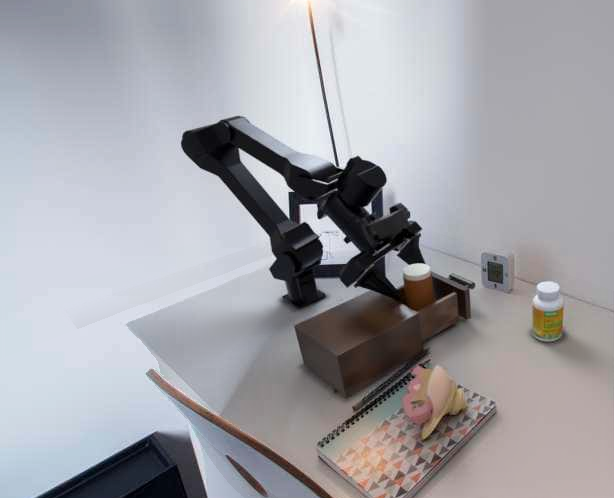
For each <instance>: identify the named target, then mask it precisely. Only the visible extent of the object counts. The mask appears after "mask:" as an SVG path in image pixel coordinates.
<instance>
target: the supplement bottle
mask: <svg viewBox="0 0 614 498" xmlns="http://www.w3.org/2000/svg"><path fill="white" fill-rule="evenodd" d="M564 302H565V300H564V298H563V296H562V295H561V286H560V285H559V283H557V282H555V281H548V280H547V281H541V282H539V283H538V284H537V285H536V294H535V296H533V298H532V327H531V329H532V330H531V331H532V336H533V337H534V338H535V339H536V340H539V341H541V342H546V343H547V342H548V343H549V342H555V341H557V340H559V339H560V338H562V336H563V327H564V305H565V303H564Z"/></svg>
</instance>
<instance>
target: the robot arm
mask: <svg viewBox="0 0 614 498" xmlns="http://www.w3.org/2000/svg"><path fill="white" fill-rule="evenodd" d="M180 146H181V149H182V151H183V153H184V154H185V155H186V156H187V158H188V159H190V160H191V162H193V163H194V164H195V165H196V166H197V167H198V168H199V169H201V170H203V171H205V172H207V173H210V174H212V175H215V176H217V177H218V178H219V179H220V181H222V183H223V184H224V185H225V186H226V187H227V188H228V190H229V191H230V192H231V193H232V194H233V196H234V197H235V198H236V199H237V200H238V202H240V204H241V205H242V206H243V207H244V208H245V210H246V211H247V212H248V214H250V216H251V217H252V218H253V219H254V220H255V221H256V222H257V223H258V225H259V226H260V227H261V229H263V231H264V232H265V233H266V234H267V235H268V237H269V242H270V248H271V253H272V254H273V256H274V257H275V260H274V261H273V263H272V264H271V265H270V267H269V270H268V271H269V272H270V274H271V276H272V277H273V279H275V280H278V281H284V284H285V288H286V292H287V293H285V294H284V295H281V296H282V297H281V298H282V300H284V301H285V302H287V303H288V304H289V305H291V306H293V307H294V308H295V309H300V308H303V307H306V306H308V305H311V304H312V303H315V302H317V301H319V300H321V299H324V298H326V296H327V295H326V293H325V292H323V291H321V290H320V289H318V286H317V281H316V278H315V272H314V268H316V267H317V266H320V265H322V259H323V256H324V249H323V248H324V245H323V242H322V240H321V239H320V237H321V236H320V235H318V234H317V233H316V232H315V231H314V230H313V228H312V227H311V225H310V224H309V223H307V222H306V221H303V222H301V223H298V222H294V221H293V220H291V219H290V218H289V217H288V215H287V214H286V213H285V211H284V210H282V208H281V207H280V206H279V205H278V203H276V201H275V200H274V198H272V196H271V195H270V194H269V193H268V191H267V190H266V189H265V188H264V187H263V186H262V184H261V183H260V182H259V181H258V180H257V178H255V176H254V175H253V174H252V173H251V171H250V170H249V169H248V167H246V166H245V164H244V162H242V160H241V155H240V154H241V153H240V150H241V151H243V152H244V153H246V154H247V155H249V156H250V157H252V158H254V159H256V160H257V161H259V162H260V163H262V164H264V165H265V166H266V167H268V168H270V169H272V170H273V171H274V172H276V173H278V174H279V175H281V177H283V179H284V181H285V183H286V186H287V187H288V188H289V189H290V190H291V191H293V192H294V193H295V194H296V195H298V196H299V197H300V198H301V199H303V200H304V201H307V202H312V201H315V200H318V199H321V198H322V197H324V196H326V195H328V194H329V195H328V196H327V198H326V199H325V200H322V201H320V202H318V203H316V207H317V208H316V209H317V211H316V217H317V219H318V220H322V219H324V218H326V217H328V218H329V219H330V220H331V222H333V224H334V225H335V226H336V227H337V229H339V230H340V231H341V232H342V233H343V235H344V236H345V237H344V238H343V239H342V240H343V242H344V243H345V244H346V245H349V244H350V243H352V244H353V246H355V247H356V249H357V250H358V251H359V253H357V254H356V255H354V256H352V257H351V258H350V259H349V260H348V261H347V262H346V264H344V266H343V267H342V268H341V269H340V270H339V272H338V276H339V281H340V282H341V283H342V284H343V285H344V286H345V288H346V289H347V288H349V287H351V286H352V285H353V287H354V289H355V288H356V289H357V288H358V287H359V288H363V289H366V290H368V291H370V290H372V291H375V292H377V293H380V294H382V295H385V296H387V297H390V298H392V299H394V300H397V301H399V300H401V299H402V296H401V295H400V293H399V292H398V290H397V289H396V288H397V287H395V285H393V283H392V282H391V281H390V280H389V279H388V277H387V276H386V275H385V274H384V273H383V270H382V265H381V262H380V261H379V260H380V259H382V258H384V257H385V256H386V255H388V254H389V253H390V252H392V251H394V252H397V254H396V256H397V257H398V258H399V259H400V260H402V261H403V262H405V264H407V266H408V265H411V264H416V263H422V264H426V265H427V263H426V261H425V259H424V257H423V254H422V250H421V248H420V238H421V237H422V234H421V232H422V231H423V227H421V225H420V223H418V222H417V221H416V220H409V219H410V218H411V212H410V210H409V209H408V207H406V205H405V204H403V203H402V202H398V203H395V204H394V205H392V206H389V213H387V214H385V215H384V216H381V215H380V214H379V213H378V212H375V211H373V212H372V213H370V212H369V211H368V210H367V208H366V207H368V206H369V205H370V204H371V203H372V202H373V200H374V199H375V198H376V197H377V195H379V193H380V192H381V191H382V189H383V188H384V187H385V185H386V184H387V181H388V179H387V178H388V177H387V174H386V173H385V171H384V170H383V168H382V167H381V166H380V165H377V164H375V163H374V162H372V161H370V160H366V159H363V158H362V157H361V156H360V155H359V154H356V155H354V156H352V157H350V158H349V159H348V161H347V162H346V165H345V167H341V166H337V165H335V164H334V163H333V162H331V161H330V160H328V159H325V158H323V157H321V156H317V155H315V154H311V153H304V152H299V151H297V150H295V149H293V148H291V147H290V146H288V145H287V144H286V143H283V142H282V141H280V140H278V139H277V138H275V137H274V136H272V135H271V134H269V133H267V132H266V131H264V130H263V129H260V128H259V127H258V126H256V125H254V124H253V123H251V121H250V120H249V119H248V118H247V117H245V116H242V115H235V116H231V117H227V118H223V119H220V120H219V121H218V122H216V123H211V124H208V125H204V126H199V127H196V128H192V129H188V130H184V132H183V133H182V136H181V140H180ZM336 190H337V191H336ZM334 191H335V192H334ZM377 261H378V262H377Z"/></svg>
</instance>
